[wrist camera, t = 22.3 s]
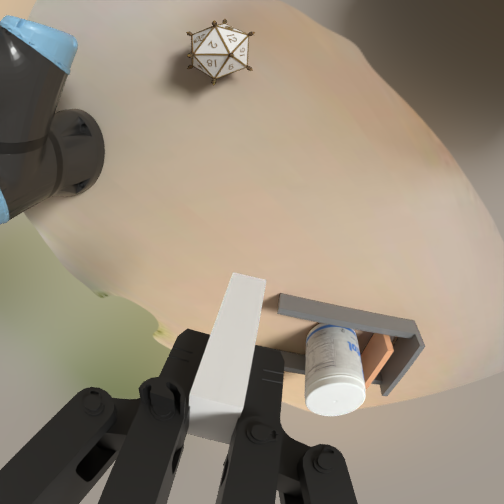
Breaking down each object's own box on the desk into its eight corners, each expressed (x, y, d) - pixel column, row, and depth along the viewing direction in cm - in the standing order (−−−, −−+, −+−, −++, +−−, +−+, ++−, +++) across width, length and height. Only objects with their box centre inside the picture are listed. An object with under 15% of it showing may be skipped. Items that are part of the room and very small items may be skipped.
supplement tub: (365, 339, 51) (377, 401, 38) (324, 361, 55) (327, 423, 42) (337, 308, 48) (346, 374, 35) (294, 335, 52) (291, 400, 39)
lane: (262, 350, 55) (257, 378, 49) (280, 293, 48) (278, 320, 42) (381, 370, 54) (387, 396, 48) (414, 320, 48) (425, 346, 41)
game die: (222, 69, 37) (166, 84, 32) (223, 17, 30) (163, 23, 25) (271, 80, 33) (214, 95, 28) (276, 20, 27) (214, 21, 22)
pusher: (356, 362, 53) (360, 389, 47) (379, 323, 48) (387, 350, 42) (374, 364, 53) (379, 390, 47) (398, 326, 48) (408, 352, 42)
